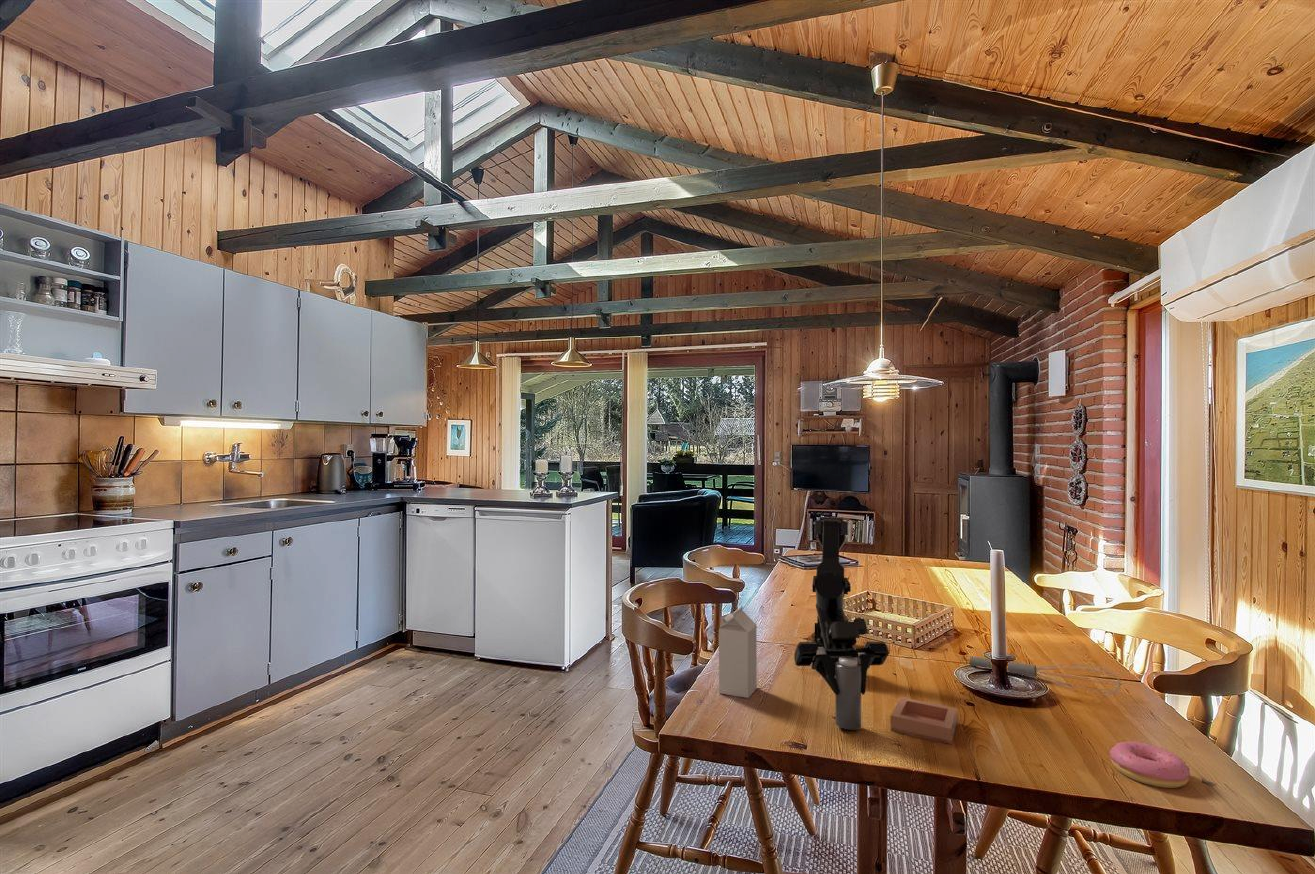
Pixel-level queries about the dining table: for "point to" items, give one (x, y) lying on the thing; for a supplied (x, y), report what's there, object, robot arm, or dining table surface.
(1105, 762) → the dining table surface
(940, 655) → the dining table surface
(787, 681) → the dining table surface
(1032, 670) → the kitchen whisk
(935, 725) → the terracotta holder
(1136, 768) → the doughnut
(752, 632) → the milk carton
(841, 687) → the pepper mill
